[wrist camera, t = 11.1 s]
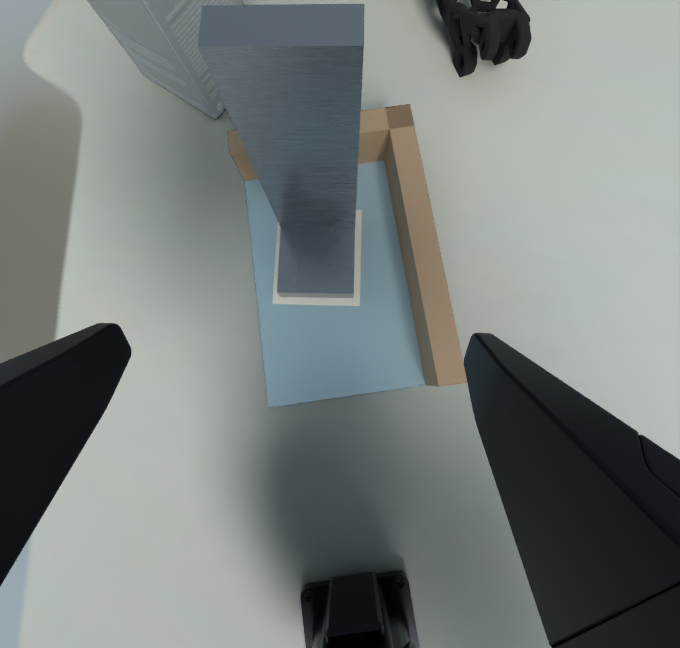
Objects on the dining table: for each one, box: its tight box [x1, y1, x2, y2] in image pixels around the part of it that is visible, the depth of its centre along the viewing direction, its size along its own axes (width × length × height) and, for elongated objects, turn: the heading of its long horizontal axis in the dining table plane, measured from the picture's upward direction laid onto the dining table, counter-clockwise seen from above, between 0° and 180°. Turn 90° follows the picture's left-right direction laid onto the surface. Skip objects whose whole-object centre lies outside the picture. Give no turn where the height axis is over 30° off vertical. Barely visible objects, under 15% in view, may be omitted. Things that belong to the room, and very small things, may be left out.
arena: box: [228, 104, 467, 408], centre depth 21 cm, size 18×12×4 cm, turn 8°
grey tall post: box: [198, 4, 364, 298], centre depth 16 cm, size 6×5×13 cm
